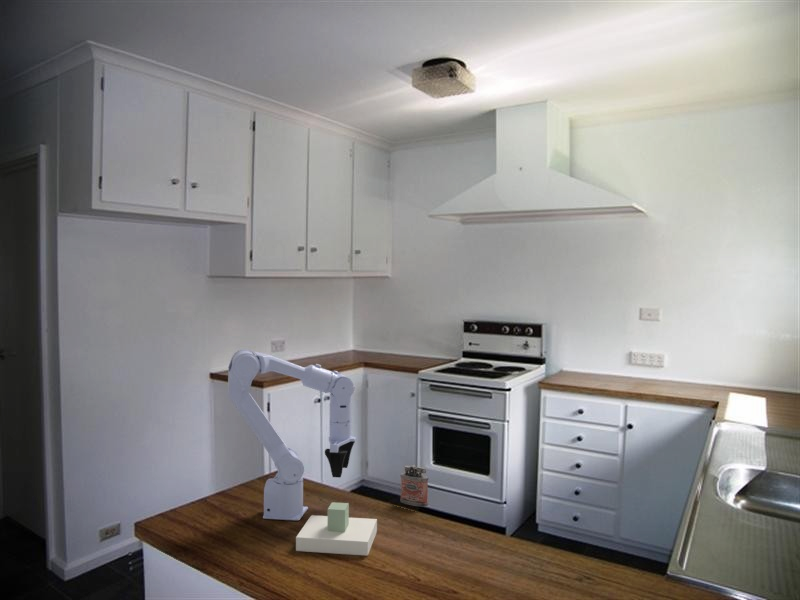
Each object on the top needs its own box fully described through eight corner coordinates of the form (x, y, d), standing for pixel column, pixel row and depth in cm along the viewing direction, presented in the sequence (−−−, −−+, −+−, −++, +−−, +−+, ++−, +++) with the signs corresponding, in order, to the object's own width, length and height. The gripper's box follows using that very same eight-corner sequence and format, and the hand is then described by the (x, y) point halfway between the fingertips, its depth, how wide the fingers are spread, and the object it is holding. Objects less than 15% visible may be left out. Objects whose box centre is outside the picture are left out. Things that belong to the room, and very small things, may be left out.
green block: (327, 531, 125) (327, 509, 125) (331, 523, 129) (331, 502, 128) (344, 532, 124) (345, 510, 124) (348, 524, 128) (348, 503, 128)
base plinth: (295, 550, 121) (296, 537, 121) (311, 527, 133) (311, 515, 133) (367, 555, 119) (367, 541, 119) (376, 531, 131) (377, 519, 131)
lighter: (397, 502, 150) (398, 465, 150) (403, 498, 153) (403, 462, 153) (424, 507, 146) (425, 470, 146) (430, 503, 149) (430, 466, 149)
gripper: (349, 427, 138) (349, 482, 138) (360, 414, 152) (360, 464, 152) (321, 426, 139) (321, 480, 139) (335, 414, 153) (335, 462, 153)
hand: (340, 472), depth 146 cm, fingers open, 7 cm apart
